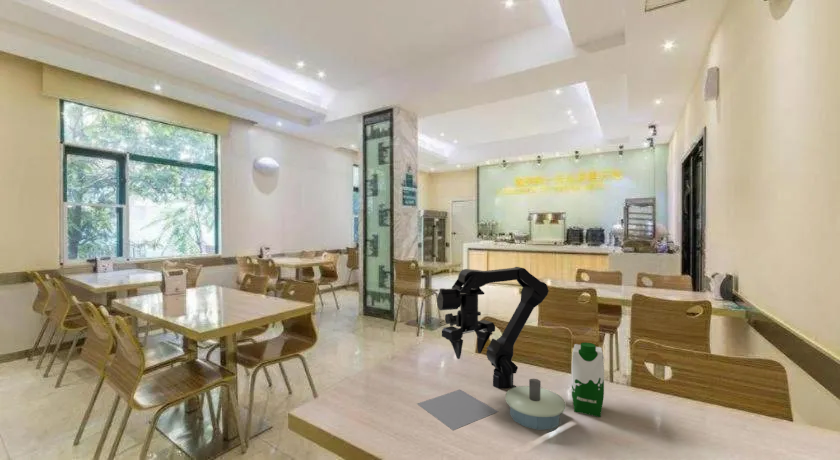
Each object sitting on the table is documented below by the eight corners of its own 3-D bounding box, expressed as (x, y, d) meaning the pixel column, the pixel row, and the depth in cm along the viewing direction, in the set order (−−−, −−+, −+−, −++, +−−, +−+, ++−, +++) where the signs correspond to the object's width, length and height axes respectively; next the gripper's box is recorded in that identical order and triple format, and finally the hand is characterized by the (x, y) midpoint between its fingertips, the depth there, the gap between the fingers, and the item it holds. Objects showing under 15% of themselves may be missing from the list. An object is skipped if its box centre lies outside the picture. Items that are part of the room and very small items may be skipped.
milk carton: (570, 412, 106) (571, 344, 106) (572, 399, 115) (572, 336, 114) (604, 419, 103) (605, 349, 102) (603, 405, 111) (604, 339, 111)
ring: (530, 403, 112) (530, 387, 112) (568, 423, 101) (569, 405, 101) (501, 416, 104) (501, 399, 104) (538, 438, 94) (539, 419, 94)
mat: (459, 392, 119) (460, 389, 119) (498, 414, 105) (498, 411, 105) (416, 406, 110) (416, 403, 110) (452, 433, 96) (452, 430, 96)
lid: (530, 384, 114) (530, 365, 114) (577, 405, 100) (577, 384, 100) (493, 398, 105) (493, 377, 105) (540, 423, 91) (540, 400, 91)
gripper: (473, 300, 131) (473, 343, 131) (431, 307, 120) (431, 354, 121) (496, 306, 122) (496, 352, 122) (453, 314, 111) (452, 365, 111)
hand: (469, 355), depth 119 cm, fingers open, 9 cm apart
